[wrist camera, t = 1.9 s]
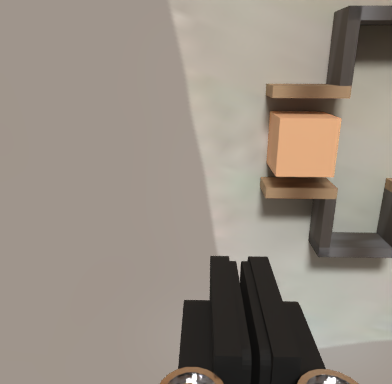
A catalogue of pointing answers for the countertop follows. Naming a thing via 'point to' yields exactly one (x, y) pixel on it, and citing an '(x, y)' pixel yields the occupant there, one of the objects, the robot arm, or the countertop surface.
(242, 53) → the countertop surface
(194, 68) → the countertop surface
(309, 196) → the trap channel
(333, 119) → the block
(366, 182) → the countertop surface
